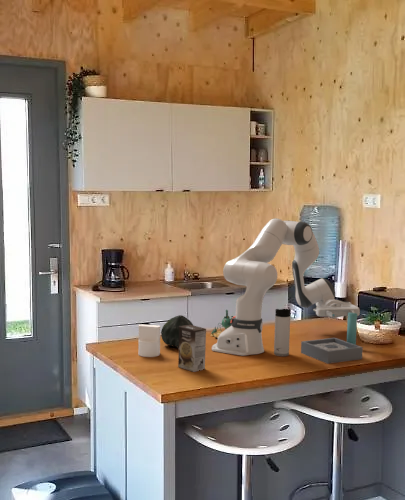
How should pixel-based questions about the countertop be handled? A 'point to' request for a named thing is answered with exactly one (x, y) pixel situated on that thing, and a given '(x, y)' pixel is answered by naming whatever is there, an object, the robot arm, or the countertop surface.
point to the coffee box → (192, 347)
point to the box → (331, 351)
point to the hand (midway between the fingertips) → (343, 314)
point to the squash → (173, 330)
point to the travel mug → (282, 332)
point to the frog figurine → (224, 324)
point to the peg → (351, 328)
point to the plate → (331, 346)
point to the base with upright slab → (149, 340)
